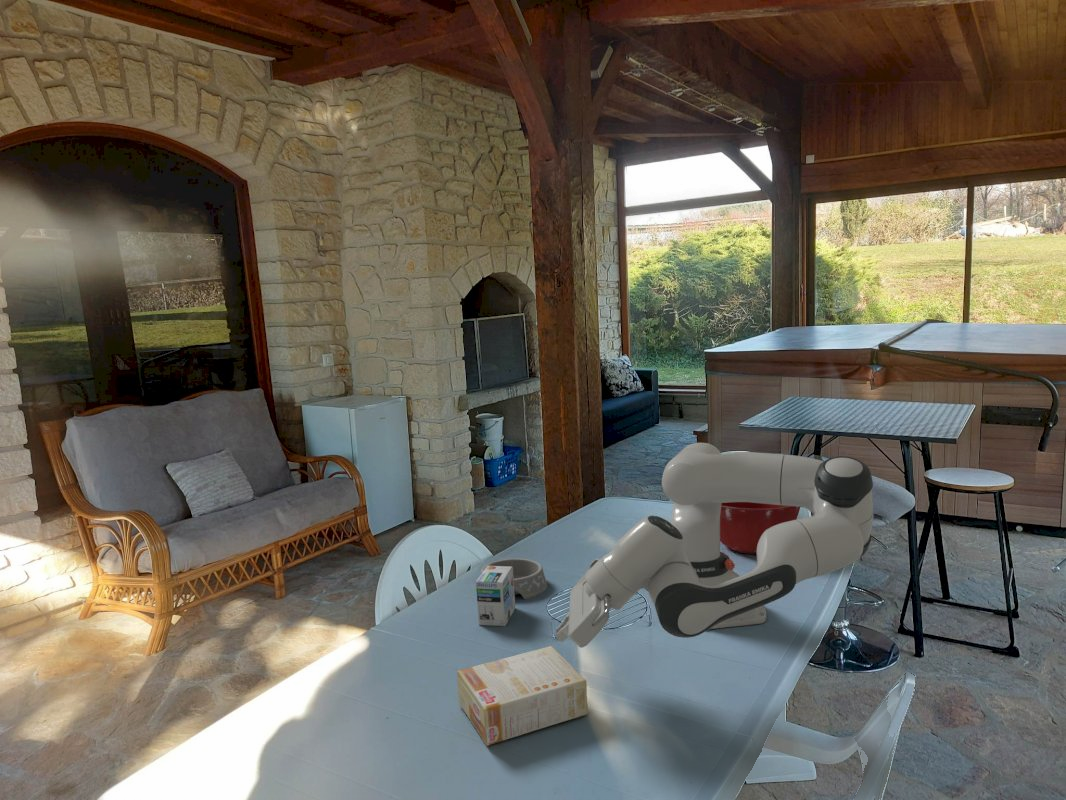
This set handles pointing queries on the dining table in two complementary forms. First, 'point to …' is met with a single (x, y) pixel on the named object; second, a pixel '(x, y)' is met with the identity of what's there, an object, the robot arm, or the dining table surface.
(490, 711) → the coffeecake box
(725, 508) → the mixing bowl
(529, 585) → the dog bowl
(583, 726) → the dining table surface
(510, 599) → the light bulb box
